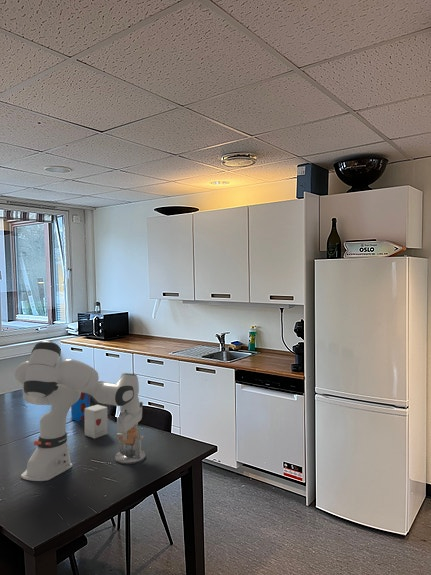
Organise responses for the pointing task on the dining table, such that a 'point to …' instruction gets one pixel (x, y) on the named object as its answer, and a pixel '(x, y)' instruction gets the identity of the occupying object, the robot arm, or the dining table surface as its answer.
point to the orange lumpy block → (130, 436)
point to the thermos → (80, 407)
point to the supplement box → (96, 421)
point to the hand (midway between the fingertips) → (130, 436)
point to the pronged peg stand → (130, 451)
